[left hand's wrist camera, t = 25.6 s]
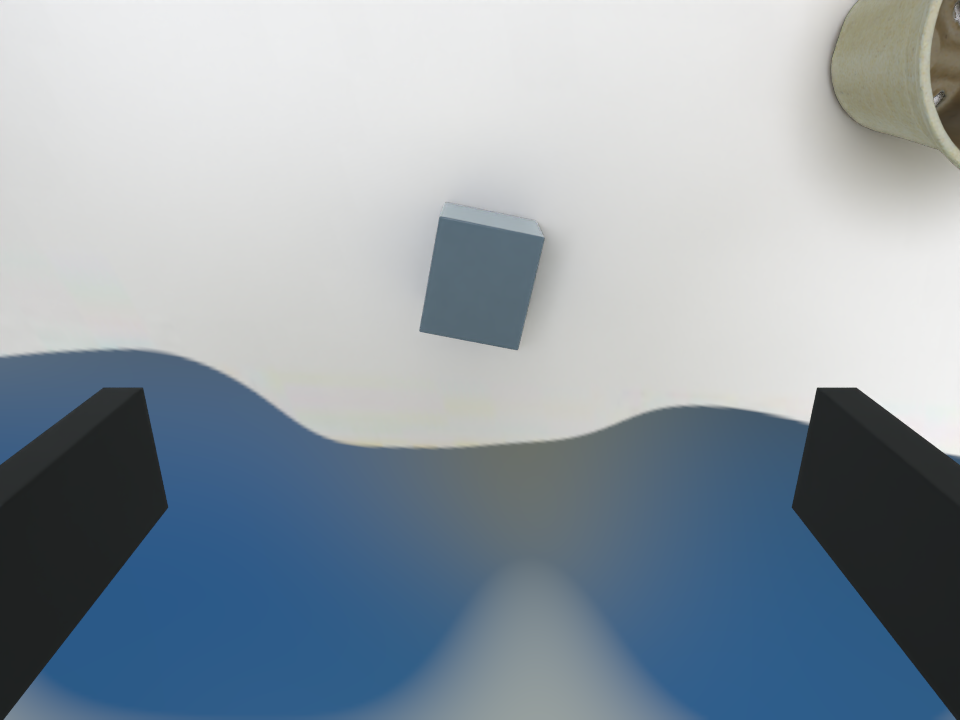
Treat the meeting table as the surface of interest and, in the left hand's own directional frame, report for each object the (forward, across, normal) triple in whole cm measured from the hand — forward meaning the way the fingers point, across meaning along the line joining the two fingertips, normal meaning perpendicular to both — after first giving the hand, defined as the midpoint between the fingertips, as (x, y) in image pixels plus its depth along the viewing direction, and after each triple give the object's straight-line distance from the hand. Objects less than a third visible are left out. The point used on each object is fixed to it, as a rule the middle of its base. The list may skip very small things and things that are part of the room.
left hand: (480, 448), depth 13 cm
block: (+19, 0, +1) cm, 19 cm away
